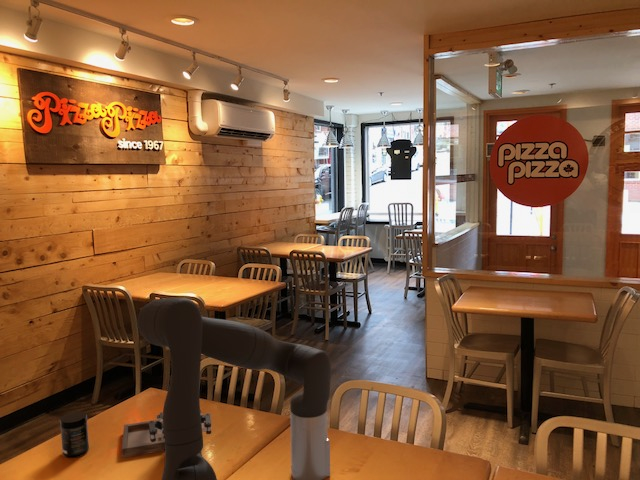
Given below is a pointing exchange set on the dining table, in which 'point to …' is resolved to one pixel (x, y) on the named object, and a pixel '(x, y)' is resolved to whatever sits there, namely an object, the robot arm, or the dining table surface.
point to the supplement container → (74, 434)
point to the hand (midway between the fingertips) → (178, 413)
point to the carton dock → (139, 440)
